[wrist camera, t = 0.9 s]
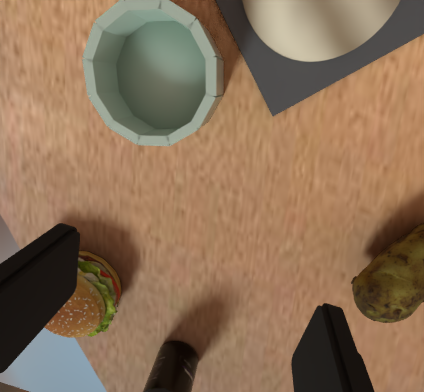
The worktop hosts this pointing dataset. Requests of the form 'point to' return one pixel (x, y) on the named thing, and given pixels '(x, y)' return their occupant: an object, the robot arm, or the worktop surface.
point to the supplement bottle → (173, 369)
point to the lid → (317, 25)
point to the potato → (393, 280)
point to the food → (89, 300)
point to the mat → (321, 70)
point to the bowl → (152, 71)
